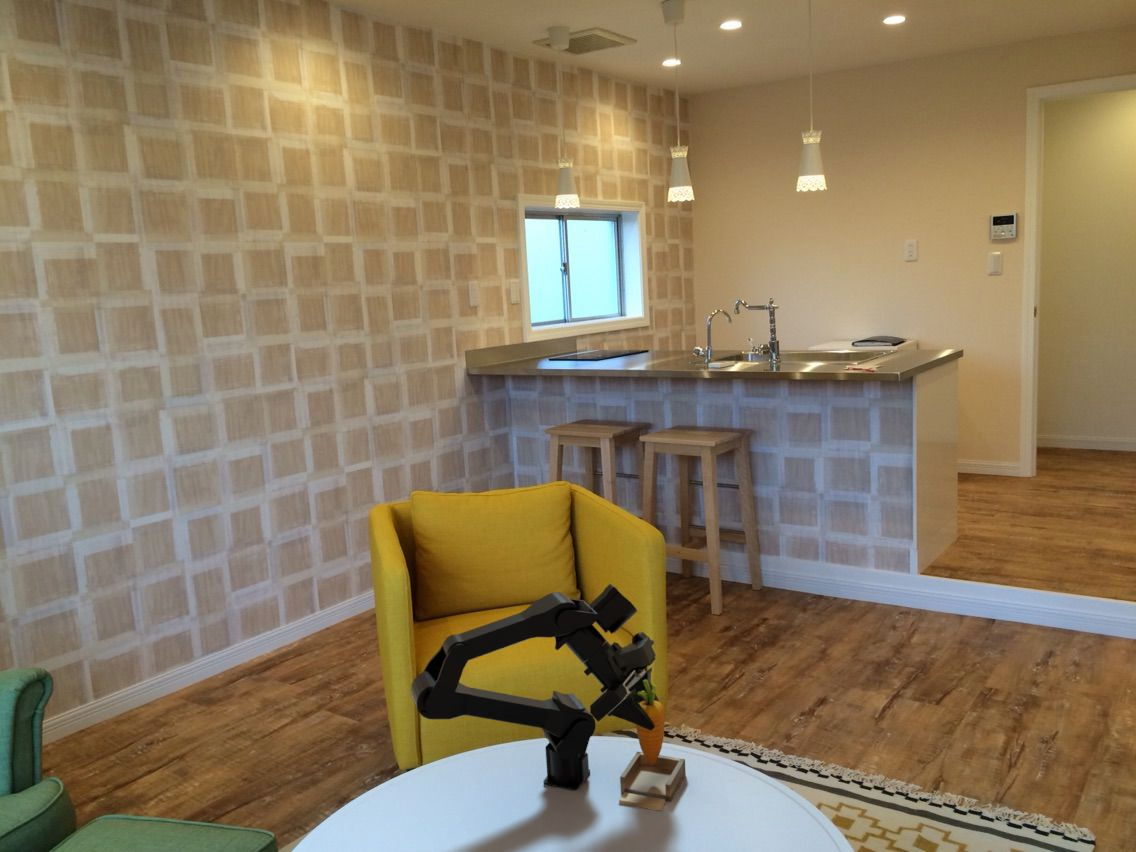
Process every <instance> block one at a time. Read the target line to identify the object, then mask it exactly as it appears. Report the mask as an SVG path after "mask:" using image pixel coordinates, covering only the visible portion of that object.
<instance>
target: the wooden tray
mask: <svg viewBox="0 0 1136 852" xmlns="http://www.w3.org/2000/svg"><path fill="white" fill-rule="evenodd" d="M686 775H687V774H686V759H685V758H680V757H672V756H667V755H661V754H659V756H658V758H657V760H656V762H655V763H654V764H653V765H652V766H651V765H650V764H649V763H648V762H647V760H646V758H645V756H644V754H643V752H642V751H636V753H635V754H634V755H633V757H632V758H631V760H630V761H629V763H628V765H626V767H625V769H624V770H623V772H622V773H621V775H620V776H619V780H620V782H619V783H620V793H621V794H622V795H621V796H620V798H619V799H618V803H619V804H620V805H621V804H622V805H628V806H633V807H639V808H643V809H649V810H654V811H660V812H662V809H663V807H664V806H665V804H666V803H667V802H668V803H669V802H670V803H672V800H673V799H674V797H675V795H676V793H677V791H678V790H679V788H680V786H681V784H682V782H683V780H684V779H685V777H686Z"/></svg>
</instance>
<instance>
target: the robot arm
mask: <svg viewBox="0 0 1136 852" xmlns="http://www.w3.org/2000/svg"><path fill="white" fill-rule="evenodd" d="M636 613H638V609H637V608H636V607H635V605H634V604H633V603H632V602H631V601H630V600H629V599H627V597H626V596H624V595H623V594H622V593H621V592H620V591H619V590H618V588H617V587H615V585H613V584H612V583H609V584H608V585H607V586H606V587H605V588H604V590H603V591H602V592H601V593H600V594H599V595H598V596H597V597H596V598H595V599H593V601H592V602H591V603H590V604H588V603H587V602H586V601H585V600H584V599H583V600H582V599H577V598H569V597H568V596H567V595H566V594H564V593H562V592H559V591H554V592H550V593H548V594H546V595H545V596H542V597H541V598H538V599H537V600H535V601H534V602H532V603H531V604H530V605H529V606H528V607H527V608H526V609H524V610H522V611H520V612H519V613H518V612H517V613H516V614H512V615H510V616H507V617H504V618H501V619H498V620H495V621H492V622H490V623H487V624H484V625H480V626H479V627H475V628H473V629H469V630H467V631H464V632H461V633H457V634H455V633H454V634H450V635H449V636H447V637H446V638H445V640H444V641H443V643H442V644H441V646H440V648H439V649H438V651H437V652H436V653H434V655H433V656H432V657H431V658H430V659H429V661H428V662H427V664H426V666H425V667H424V669H423V671H422V672H421V673H420V674H418V675H417V676H416V677H414V679H413V681H412V683H411V687H410V691H411V697H412V699H413V702H414V704H415V706H416V709H417V711H418V712H419V714H420V715H421V716H422V717H423V718H425V719H427V720H451V719H455V718H456V719H457V718H459V717H464V716H468V717H474V718H481V719H484V720H485V719H486V720H491V721H498V722H504V723H508V724H516V725H520V726H527V727H532V728H537V729H541V731H542V733H543V735H544V737H545V739H547V740H548V744H546V745H545V759H546V760H545V762H546V763H545V764H546V773H547V774H546V777H545V778H544V779H543V784H544V785H547V786H551V787H552V786H553V787H558V788H562V789H563V788H564V789H569V790H574V791H578V789H579V788H580V787H581V785H582V784H583V783H584V782H585V780H586V779H587V778H588V776H590V773H591V769H590V768H589V753H588V752H587V749H588V745H589V742H590V738H591V737H592V736H593V735H594V732H595V731H596V721H597V722H600V721H601V720H602V719H603V718H605V717H606V716H608V717H609V718H610V717H611V716H613V717H616V718H618V719H621V720H623V721H624V720H625V721H626V722H629V723H632V724H634V725H635V726H636V725H639V726H641V727H643V728H646V729H648V730H652V729H654V728H655V725H654V723H653V722H652V720H651V719H650V717H649V716H648V715H647V713H646V712H645V711H644V710H643V708H642V707H641V706H640V704H639V703H640V702H641V701H643V700H645V699H644V698H643V697H641V696H639V695H637V692H641V691H645V692H646V693H647V691H646V688H645V686H644V683H643V680H647V681H648V683H649V686H650V689H651V691H652V683H651V681H652V679H651V678H652V671H653V667H650V666H651V665H652V664H653V663H654V661H655V660H656V653H655V651H654V647H653V645H654V644H655V642H654V640H653V639H650V636H648V635H647V634H646V633H645V632H643V631H639V632H637V633H635V634H634V635H633V636H632V638H631V642H629V643H628V645H625V646H621V645H620V644H619V643H618V642H615V641H614V642H612V643H610V641H608V640H607V638H605V637H604V635H603V634H602V633H601V632H600V631H599V630H598V629H597V628H596V627H595V626H594V624H595V623H596V625H597V626H598V627H599V628H600V630H602V632H604V634H607V633H610V634H611V635H613V634H615V633H617V632H618V631H619V630H620V629H621V628H622V627H623V626H624V625H625V624H627V622H629V620H630V619H632V617H634V615H635V614H636ZM535 638H547V639H548V638H554V639H555V645H554V646H555V647H554V650H555V651H559V650H560V649H561V648H562V647H563V646H566V647H568V648H569V650H570V651H571V652H572V654H574V655H575V657H576V658H577V659H578V660H579V661H580V662H581V664H583V665H584V666H585V670H584V671H583V673H584V675H586V676H587V677H589V676H590V675H592V676H594V678H595V679H596V680H597V681H598V682H599V683H600V684H601V686H602V687H601V688H600V690H599V691H600V692H601V694H600V695H598V696H597V697H596V698H595V699H594V701H593V702H592V703H591V704H590V705H589V709H590V711H589V710H588V709H587V708H586V706H585V705H584V704H583V702H582V701H581V700H580V699H579V698H577V697H576V696H575V694H574V693H563V692H560V691H556V690H553V692H552V697H551V698H548V699H545V700H544V699H542V700H540V699H535V698H530V697H525V696H524V697H523V696H518V695H514V694H508V693H503V692H497V691H492V690H487V689H481V688H475V687H470V686H467V685H464V684H462V683H461V682H460V680H461V677H462V674H463V671H464V669H465V667H466V665H467V663H468V661H471V660H474V659H477V658H480V657H482V656H485V655H488V654H491V653H493V652H496V651H498V650H501V649H504V648H507V647H510V646H513V645H515V644H518V643H521V642H525V641H527V640H530V639H535ZM648 666H649V667H650V668H649V669H647V667H648ZM645 669H647V670H645ZM647 695H648V694H647ZM654 700H655V701H659V702H660V700H659V698H658V696H657V693H656V694H655V698H654Z"/></svg>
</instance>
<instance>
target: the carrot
mask: <svg viewBox="0 0 1136 852" xmlns="http://www.w3.org/2000/svg"><path fill="white" fill-rule="evenodd" d="M643 683H644V686H645V688H646V691H647V693H646V692H645V691H641V692H637V695H639V696H641V697H643V698H644V699H645V700H643V701H641V702H640V703H639V702H638V703H639V704H640V706H641V707H642V708H643V710H644V711H645V712H646V713H647V715H648V716H649V717H650V719H651V720H652V722H653V723H654V725H655V728H654V729H652V730H648V729H646V728H643V727H641V726H639V725H636V724H635V726H636V733H637V738H638V742H639V746H640V749H641V752H643V754H644V756H645V758H646V760H647V762H648V763H649V764H650V765H651V766H652V765H653V764H654V763H655V762H656V760H657V758H658V756H659V755H661V753H660V752H661V750H662V748H663V744H664V743H663V741H664V738H665V737H664V736H665V708H664V705H662V703H661V701H660V700H659V701H655V700H654V698H655V694H656V695H657V686H656V685H657V684H652V683H651V684H652V691H651V689H650V686H649V683H648V681H647V680H643ZM647 694H648V695H647Z"/></svg>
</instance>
